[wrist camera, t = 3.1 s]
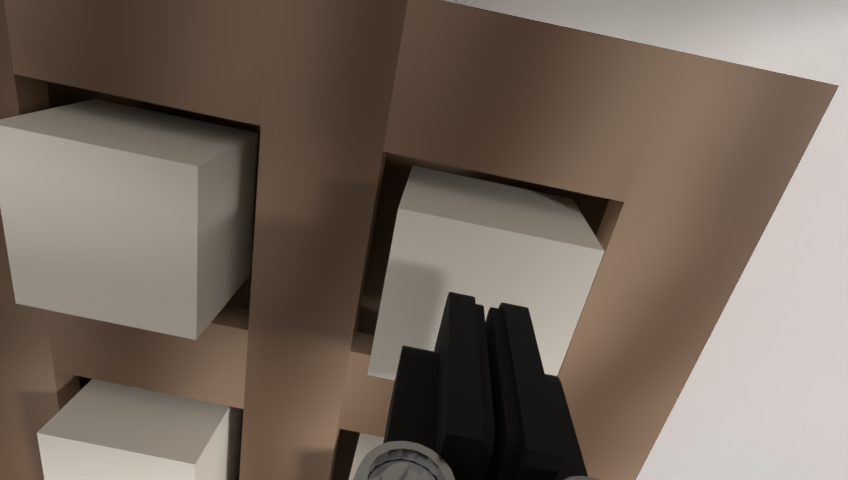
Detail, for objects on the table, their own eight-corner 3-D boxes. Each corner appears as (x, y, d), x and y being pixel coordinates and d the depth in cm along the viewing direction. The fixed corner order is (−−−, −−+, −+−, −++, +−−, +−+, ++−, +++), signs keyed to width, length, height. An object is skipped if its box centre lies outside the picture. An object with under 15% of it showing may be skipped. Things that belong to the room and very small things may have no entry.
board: (744, 69, 15) (838, 85, 11) (532, 556, 24) (545, 655, 20) (-11, -93, 14) (-174, -132, 11) (64, 463, 23) (-10, 546, 20)
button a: (572, 198, 14) (604, 251, 11) (527, 332, 16) (544, 410, 13) (412, 165, 14) (398, 208, 11) (386, 303, 16) (366, 374, 13)
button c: (258, 133, 14) (198, 166, 11) (249, 275, 16) (196, 340, 13) (95, 98, 14) (-14, 122, 11) (105, 246, 16) (15, 303, 13)
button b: (243, 384, 18) (194, 464, 15) (237, 476, 20) (194, 565, 16) (113, 357, 18) (36, 432, 14) (120, 452, 20) (53, 537, 16)
